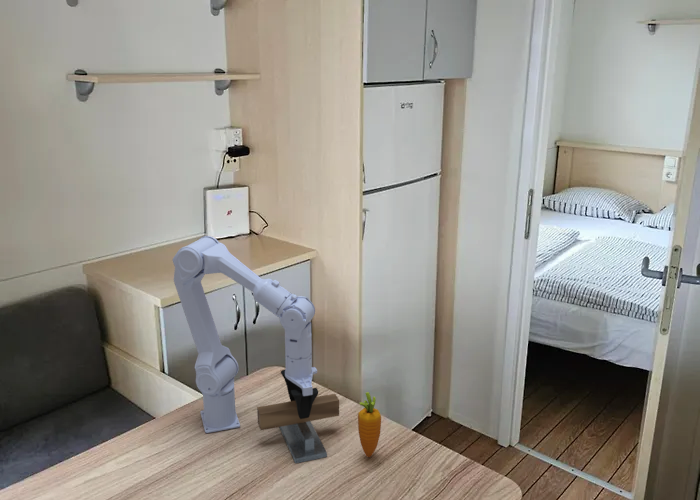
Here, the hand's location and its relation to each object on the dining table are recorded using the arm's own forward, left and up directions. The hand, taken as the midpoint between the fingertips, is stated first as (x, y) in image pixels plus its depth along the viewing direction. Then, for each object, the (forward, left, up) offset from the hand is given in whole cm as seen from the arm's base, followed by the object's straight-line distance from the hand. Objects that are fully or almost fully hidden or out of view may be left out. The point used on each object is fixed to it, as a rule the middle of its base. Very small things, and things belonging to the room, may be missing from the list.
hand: (299, 408), depth 141 cm
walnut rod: (0, 0, -3) cm, 3 cm away
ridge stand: (0, 0, -7) cm, 7 cm away
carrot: (+12, +12, -8) cm, 19 cm away
